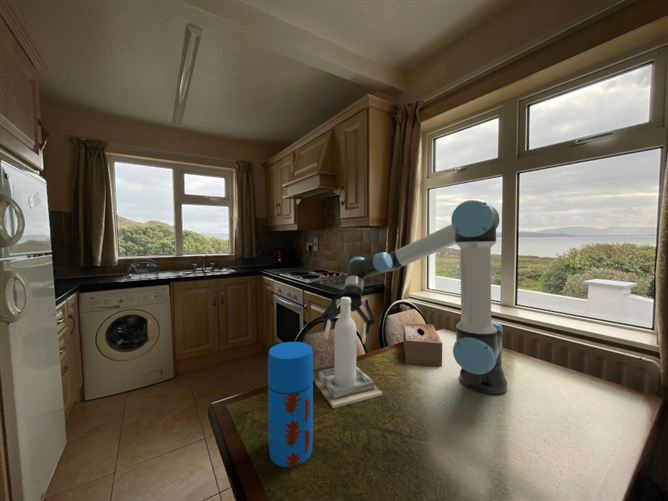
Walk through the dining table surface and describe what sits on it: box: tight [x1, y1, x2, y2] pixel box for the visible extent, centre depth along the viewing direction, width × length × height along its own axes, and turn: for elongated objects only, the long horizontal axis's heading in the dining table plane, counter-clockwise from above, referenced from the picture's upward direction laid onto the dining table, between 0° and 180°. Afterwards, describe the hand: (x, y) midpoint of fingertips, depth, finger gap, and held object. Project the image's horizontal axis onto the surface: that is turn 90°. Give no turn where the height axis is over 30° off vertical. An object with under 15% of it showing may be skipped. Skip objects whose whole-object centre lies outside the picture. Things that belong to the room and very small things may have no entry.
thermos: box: [267, 341, 314, 468], centre depth 66 cm, size 11×11×25 cm
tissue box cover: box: [402, 322, 443, 367], centre depth 125 cm, size 26×14×10 cm, turn 168°
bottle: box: [334, 297, 357, 387], centre depth 95 cm, size 8×8×30 cm
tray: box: [313, 362, 383, 409], centre depth 95 cm, size 20×18×4 cm
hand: (344, 340), depth 94 cm, fingers open, 13 cm apart
